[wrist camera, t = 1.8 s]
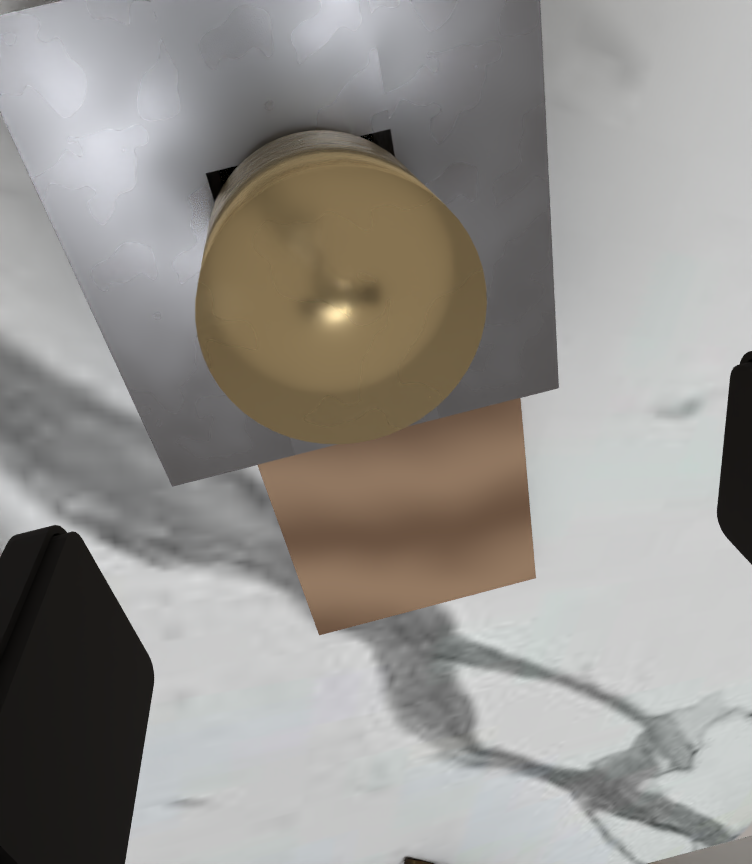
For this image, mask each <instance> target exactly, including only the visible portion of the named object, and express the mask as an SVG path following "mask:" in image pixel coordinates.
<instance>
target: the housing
mask: <svg viewBox="0 0 752 864" xmlns="http://www.w3.org/2000/svg"><path fill="white" fill-rule="evenodd" d="M0 113H1V115H2V117H3V119H4V122H5V124H6V126H7V128H8V130H9V132H10V135H11V137H12V139H13V141H14V143H15V146H16V148H17V150H18V152H19V154H20V156H21V159H22V161H23V163H24V165H25V167H26V169H27V172H28V174H29V176H30V178H31V180H32V182H33V185H34V187H35V189H36V191H37V193H38V196H39V198H40V200H41V202H42V204H43V206H44V209H45V211H46V213H47V215H48V217H49V219H50V222H51V224H52V226H53V228H54V230H55V232H56V235H57V237H58V239H59V241H60V243H61V245H62V248H63V250H64V252H65V254H66V256H67V259H68V261H69V263H70V265H71V267H72V269H73V272H74V274H75V276H76V278H77V280H78V282H79V285H80V287H81V289H82V291H83V293H84V295H85V298H86V300H87V302H88V304H89V306H90V309H91V311H92V313H93V315H94V317H95V319H96V322H97V324H98V326H99V328H100V330H101V332H102V335H103V337H104V339H105V341H106V343H107V345H108V348H109V350H110V352H111V354H112V356H113V358H114V361H115V363H116V365H117V367H118V369H119V372H120V374H121V376H122V378H123V380H124V382H125V385H126V387H127V389H128V391H129V393H130V395H131V398H132V400H133V402H134V404H135V406H136V408H137V411H138V413H139V415H140V417H141V419H142V422H143V424H144V426H145V428H146V430H147V432H148V435H149V437H150V439H151V441H152V443H153V445H154V448H155V450H156V452H157V454H158V456H159V458H160V461H161V463H162V465H163V467H164V469H165V471H166V474H167V476H168V478H169V480H170V482H171V485H172V486H176V485H180V484H184V483H188V482H192V481H196V480H200V479H204V478H208V477H212V476H215V475H219V474H223V473H227V472H231V471H235V470H239V469H243V468H247V467H251V466H255V465H259V464H263V463H266V462H270V461H274V460H278V459H282V458H286V457H290V456H294V455H298V454H302V453H306V452H310V451H314V450H317V449H321V448H325V447H329V446H333V445H337V444H320V443H313V442H306V441H302V440H298V439H294V438H290V437H287V436H285V435H282V434H280V433H277V432H275V431H272V430H270V429H269V428H267V427H265V426H263V425H261V424H259V423H258V422H256V421H255V420H253V419H252V418H250V417H249V416H248V415H246V414H245V413H244V412H242V411H241V410H240V409H239V408H238V407H237V406H236V405H235V404H234V403H233V402H232V401H231V400H230V399H229V398H228V397H227V396H226V394H225V393H224V392H223V391H222V390H221V388H220V387H219V385H218V384H217V382H216V381H215V379H214V378H213V376H212V374H211V373H210V371H209V368H208V366H207V364H206V362H205V360H204V357H203V354H202V351H201V348H200V344H199V341H198V336H197V329H196V323H195V300H196V293H197V286H198V280H199V274H200V269H201V263H202V258H203V252H204V247H205V242H206V236H207V231H208V225H209V220H210V217H211V213H212V210H213V206H214V204H215V201H216V199H217V197H218V195H219V192H220V190H221V189H222V187H223V183H222V180H221V177H220V174H219V170H221V169H225V168H229V167H233V166H238V165H239V164H241V163H242V162H243V161H244V160H245V159H246V158H247V157H248V156H249V155H251V154H252V153H253V152H255V151H256V150H258V149H259V148H261V147H262V146H264V145H266V144H268V143H270V142H272V141H274V140H276V139H278V138H281V137H284V136H287V135H290V134H293V133H298V132H304V131H310V130H331V131H339V132H345V133H349V134H352V135H356V136H363V135H367V134H371V133H372V134H373V140H374V143H375V144H377V145H378V146H380V147H382V148H383V149H385V150H387V151H388V152H389V153H390V154H392V155H393V156H394V157H395V158H397V159H398V160H399V161H400V162H401V163H402V164H403V165H404V166H405V167H406V168H407V169H408V170H409V171H410V172H411V173H413V174H414V175H415V176H416V177H417V178H418V179H419V180H420V181H421V182H422V183H423V184H424V185H425V186H426V187H427V188H428V189H429V190H430V191H431V192H432V193H433V194H434V195H435V196H436V197H438V198H439V199H440V200H441V201H442V202H443V203H444V204H445V205H446V206H447V207H448V208H449V210H450V211H451V212H452V213H453V214H454V215H455V216H456V217H457V218H458V219H459V221H460V222H461V224H462V225H463V227H464V228H465V229H466V231H467V232H468V234H469V235H470V238H471V240H472V242H473V244H474V246H475V248H476V250H477V252H478V255H479V258H480V261H481V264H482V267H483V272H484V277H485V283H486V296H487V308H486V318H485V324H484V329H483V333H482V338H481V341H480V343H479V346H478V349H477V352H476V354H475V356H474V358H473V360H472V362H471V364H470V366H469V368H468V370H467V372H466V373H465V374H464V376H463V377H462V379H461V380H460V382H459V383H458V385H457V386H456V387H455V388H454V389H453V391H452V392H451V393H450V394H449V395H448V396H447V397H446V398H445V399H444V400H443V401H442V402H441V403H440V404H439V405H438V406H437V407H436V408H435V409H433V410H432V411H431V412H429V413H428V414H427V415H425V416H424V417H422V418H421V419H420V420H418V421H416V422H414V423H413V424H411V425H409V426H412V425H416V424H420V423H423V422H427V421H431V420H435V419H439V418H443V417H447V416H451V415H455V414H459V413H463V412H467V411H471V410H474V409H478V408H482V407H486V406H490V405H494V404H498V403H502V402H506V401H510V400H514V399H518V398H522V397H526V396H529V395H533V394H537V393H541V392H545V391H549V390H553V389H557V388H559V383H558V362H557V341H556V320H555V300H554V279H553V258H552V238H551V217H550V196H549V175H548V155H547V134H546V113H545V92H544V72H543V51H542V30H541V10H540V0H62V1H58V2H54V3H49V4H45V5H40V6H36V7H32V8H27V9H23V10H19V11H14V12H10V13H6V14H1V15H0ZM407 427H408V426H407Z"/></svg>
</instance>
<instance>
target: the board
mask: <svg viewBox="0 0 752 864" xmlns="http://www.w3.org/2000/svg"><path fill="white" fill-rule="evenodd" d="M258 467H259V470H260V473H261V476H262V478H263V481H264V484H265V487H266V490H267V492H268V495H269V498H270V501H271V503H272V506H273V509H274V512H275V514H276V517H277V520H278V523H279V525H280V528H281V531H282V534H283V536H284V539H285V542H286V545H287V547H288V550H289V553H290V556H291V559H292V561H293V564H294V567H295V570H296V572H297V575H298V578H299V581H300V583H301V586H302V589H303V592H304V594H305V597H306V600H307V603H308V605H309V608H310V611H311V614H312V617H313V619H314V622H315V625H316V628H317V630H318V633H319V635H322V634H326V633H330V632H333V631H337V630H341V629H345V628H349V627H352V626H356V625H360V624H364V623H368V622H371V621H375V620H379V619H383V618H386V617H390V616H394V615H398V614H402V613H405V612H409V611H413V610H417V609H421V608H424V607H428V606H432V605H436V604H439V603H443V602H447V601H451V600H455V599H458V598H462V597H466V596H470V595H474V594H477V593H481V592H485V591H489V590H493V589H496V588H500V587H504V586H508V585H511V584H515V583H519V582H523V581H527V580H530V579H534V578H536V575H535V563H534V551H533V540H532V528H531V516H530V505H529V493H528V481H527V470H526V458H525V446H524V435H523V423H522V411H521V400H520V398H518V399H514V400H510V401H506V402H502V403H498V404H494V405H490V406H486V407H482V408H478V409H474V410H471V411H467V412H463V413H459V414H455V415H451V416H447V417H443V418H439V419H435V420H431V421H427V422H423V423H420V424H416V425H412V426H408V427H406V428H403V429H401V430H399V431H397V432H394V433H392V434H390V435H387V436H383V437H380V438H377V439H374V440H369V441H364V442H359V443H349V444H337V445H333V446H329V447H325V448H321V449H317V450H314V451H310V452H306V453H302V454H298V455H294V456H290V457H286V458H282V459H278V460H274V461H270V462H266V463H263V464H259V465H258Z"/></svg>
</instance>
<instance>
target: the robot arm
mask: <svg viewBox="0 0 752 864" xmlns="http://www.w3.org/2000/svg"><path fill="white" fill-rule="evenodd" d="M717 518H718V522H719V525H720V528H721V530H722V531H723V533H724V535H725V536H726V537H727V538H728V539H729V541H730V542H731V543H732V544H733V545H734V546H735V547H736V548H737V549H738V550H739V551H740V552H741V554H742V555H743V556H744V557H745V558H746V559H747V560H748V561H749V562H750V563H751V564H752V351H750V352H748V353H746V354H745V355H744V356H743V358H742V359H741V361H740V365H737V366H735V367H734V368H733V370H732V371H731V376H730V384H729V394H728V404H727V415H726V425H725V435H724V445H723V455H722V465H721V475H720V486H719V496H718V506H717ZM153 686H154V671H153V665H152V662H151V659H150V657H149V655H148V653H147V651H146V650H145V648H144V646H143V644H142V643H141V641H140V639H139V637H138V636H137V634H136V632H135V630H134V629H133V627H132V625H131V623H130V622H129V620H128V618H127V616H126V615H125V613H124V611H123V609H122V608H121V606H120V604H119V602H118V601H117V599H116V597H115V595H114V594H113V592H112V590H111V588H110V587H109V585H108V583H107V581H106V580H105V578H104V576H103V574H102V573H101V571H100V569H99V567H98V566H97V564H96V562H95V560H94V559H93V557H92V555H91V553H90V552H89V550H88V548H87V546H86V545H85V543H84V541H83V539H82V538H81V537H80V535H79V534H77V533H76V532H69V533H67V532H66V531H65V530H64V529H63V528H62V527H61V526H57V525H53V526H49V527H45V528H41V529H37V530H33V531H29V532H25V533H21V534H17V535H15V536H13V537H11V539H10V540H9V541H8V543H7V545H6V547H5V549H4V551H3V553H2V555H1V557H0V864H125V859H126V853H127V847H128V841H129V835H130V828H131V822H132V816H133V810H134V804H135V797H136V791H137V785H138V779H139V773H140V767H141V760H142V754H143V748H144V742H145V736H146V730H147V723H148V717H149V711H150V705H151V699H152V693H153ZM648 864H752V836H749V837H745V838H741V839H737V840H734V841H730V842H726V843H722V844H719V845H715V846H711V847H707V848H704V849H700V850H696V851H692V852H689V853H685V854H681V855H677V856H674V857H670V858H666V859H663V860H659V861H655V862H651V863H648Z"/></svg>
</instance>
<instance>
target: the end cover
mask: <svg viewBox="0 0 752 864" xmlns="http://www.w3.org/2000/svg"><path fill="white" fill-rule="evenodd" d="M486 308H487V296H486V283H485V277H484V272H483V267H482V264H481V261H480V258H479V255H478V252H477V250H476V248H475V246H474V244H473V242H472V240H471V238H470V235H469V234H468V232H467V231H466V229H465V228H464V227H463V225H462V224H461V222H460V221H459V219H458V218H457V217H456V216H455V215H454V214H453V213H452V212H451V211H450V210H449V208H448V207H447V206H446V205H445V204H444V203H443V202H442V201H441V200H440V199H439V198H438V197H436V196H435V195H434V194H433V193H432V192H431V191H430V190H429V189H428V188H427V187H426V186H425V185H424V184H423V183H422V182H421V181H420V180H419V179H418V178H417V177H416V176H415V175H414V174H413V173H411V172H410V171H409V170H408V169H407V168H406V167H405V166H404V165H403V164H402V163H401V162H400V161H399V160H398V159H397V158H395V157H394V156H393V155H392V154H390V153H389V152H388V151H387V150H385V149H383V148H382V147H380V146H378V145H377V144H375V143H373V142H371V141H369V140H366V139H364V138H362V137H359V136H356V135H352V134H349V133H345V132H339V131H331V130H310V131H304V132H298V133H293V134H290V135H287V136H284V137H281V138H278V139H276V140H274V141H272V142H270V143H268V144H266V145H264V146H262V147H261V148H259V149H258V150H256V151H255V152H253V153H252V154H251V155H249V156H248V157H247V158H246V159H245V160H244V161H243V162H242V163H241V164H239V165H238V167H237V168H236V169H235V170H234V171H233V173H232V174H231V175H230V176H229V177H228V179H227V181H226V182H225V184H224V185H223V187H222V189H221V190H220V192H219V195H218V197H217V199H216V201H215V204H214V206H213V210H212V213H211V217H210V220H209V225H208V231H207V236H206V242H205V247H204V252H203V258H202V263H201V269H200V274H199V280H198V286H197V293H196V300H195V323H196V329H197V336H198V341H199V344H200V348H201V351H202V354H203V357H204V360H205V362H206V364H207V366H208V368H209V371H210V373H211V374H212V376H213V378H214V379H215V381H216V382H217V384H218V385H219V387H220V388H221V390H222V391H223V392H224V393H225V394H226V396H227V397H228V398H229V399H230V400H231V401H232V402H233V403H234V404H235V405H236V406H237V407H238V408H239V409H240V410H241V411H242V412H244V413H245V414H246V415H248V416H249V417H250V418H252V419H253V420H255V421H256V422H258V423H259V424H261V425H263V426H265V427H267V428H269V429H270V430H272V431H275V432H277V433H280V434H282V435H285V436H287V437H290V438H294V439H298V440H302V441H306V442H313V443H320V444H349V443H359V442H364V441H369V440H374V439H377V438H380V437H383V436H387V435H390V434H392V433H394V432H397V431H399V430H401V429H403V428H406V427H407V426H409V425H411V424H413V423H414V422H416V421H418V420H420V419H421V418H422V417H424V416H425V415H427V414H428V413H429V412H431V411H432V410H433V409H435V408H436V407H437V406H438V405H439V404H440V403H441V402H442V401H443V400H444V399H445V398H446V397H447V396H448V395H449V394H450V393H451V392H452V391H453V389H454V388H455V387H456V386H457V385H458V383H459V382H460V380H461V379H462V377H463V376H464V374H465V373H466V372H467V370H468V368H469V366H470V364H471V362H472V360H473V358H474V356H475V354H476V352H477V349H478V346H479V343H480V341H481V338H482V333H483V329H484V324H485V318H486Z"/></svg>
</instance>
